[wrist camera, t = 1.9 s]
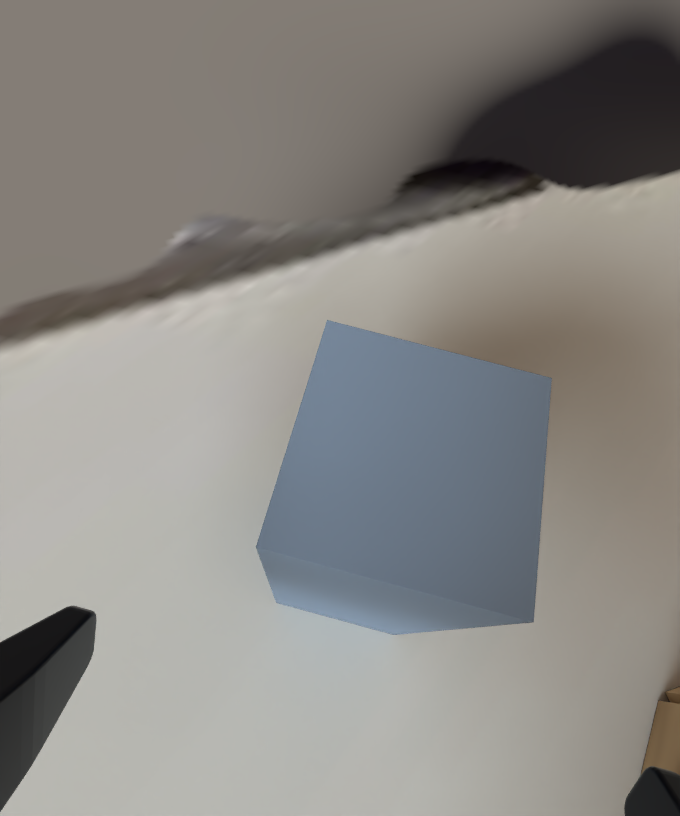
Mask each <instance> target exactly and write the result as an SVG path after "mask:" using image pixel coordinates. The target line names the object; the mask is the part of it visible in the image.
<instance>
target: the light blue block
mask: <svg viewBox="0 0 680 816" xmlns="http://www.w3.org/2000/svg"><path fill="white" fill-rule="evenodd" d="M551 380H552V378H550V377H546V376H542V375H538V374H534V373H530V372H526V371H522V370H519V369H515V368H511V367H507V366H503V365H499V364H495V363H491V362H488V361H484V360H480V359H476V358H472V357H468V356H464V355H460V354H457V353H453V352H449V351H445V350H441V349H437V348H433V347H429V346H426V345H422V344H418V343H414V342H410V341H406V340H402V339H398V338H395V337H391V336H387V335H383V334H379V333H375V332H371V331H367V330H364V329H360V328H356V327H352V326H348V325H344V324H340V323H336V322H333V321H329V320H327V323H326V326H325V329H324V332H323V335H322V338H321V342H320V345H319V348H318V351H317V354H316V358H315V361H314V364H313V367H312V370H311V373H310V377H309V380H308V383H307V386H306V389H305V393H304V396H303V399H302V402H301V405H300V408H299V412H298V415H297V418H296V421H295V424H294V428H293V431H292V434H291V437H290V440H289V443H288V447H287V450H286V453H285V456H284V459H283V463H282V466H281V469H280V472H279V475H278V478H277V482H276V485H275V488H274V491H273V494H272V498H271V501H270V504H269V507H268V510H267V513H266V517H265V520H264V523H263V526H262V529H261V533H260V536H259V539H258V542H257V545H256V548H257V551H258V554H259V557H260V559H261V562H262V565H263V568H264V570H265V573H266V576H267V579H268V581H269V584H270V587H271V589H272V592H273V595H274V598H275V600H276V603H279V604H283V605H287V606H290V607H294V608H298V609H301V610H305V611H309V612H312V613H316V614H320V615H323V616H327V617H331V618H334V619H338V620H342V621H345V622H349V623H353V624H356V625H360V626H363V627H367V628H371V629H374V630H378V631H382V632H385V633H389V634H393V635H397V634H408V633H419V632H431V631H442V630H453V629H464V628H475V627H486V626H497V625H508V624H519V623H530V622H534V609H535V596H536V582H537V569H538V555H539V542H540V528H541V515H542V501H543V488H544V474H545V461H546V447H547V434H548V420H549V407H550V393H551Z"/></svg>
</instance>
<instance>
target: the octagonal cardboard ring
mask: <svg viewBox="0 0 680 816" xmlns="http://www.w3.org/2000/svg"><path fill="white" fill-rule="evenodd" d="M666 695H667V697H668V699H669V701H670V702H664V701H658V705H657V709H656V713H655V717H654V722H653V726H652V730H651V734H650V739H649V743H648V747H647V751H646V756H645V760H644V764H643V768H642V772H641V774H642V773H643V771H644V770H645V769H646V768H648V767H650V766H655V767H658V768H662V769H666V770H669V771H673V772H675V773H677V774H679V775H680V687H678V688H675V689H672V690H670V691H667V692H666Z"/></svg>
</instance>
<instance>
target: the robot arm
mask: <svg viewBox="0 0 680 816" xmlns="http://www.w3.org/2000/svg"><path fill="white" fill-rule="evenodd" d="M95 630H96V614H95V612H93V611H91V610H88V609H84V608H81V607H77V606H69V607H66V608H64V609H62V610H60V611H58V612H56V613H54V614H53V615H51V616H49V617H47V618H45V619H43V620H41V621H39V622H38V623H36V624H34V625H32V626H30V627H28V628H26V629H24V630H22V631H21V632H19V633H17V634H15V635H13V636H11V637H9V638H7V639H6V640H4V641H2V642H0V812H1V810H2V809H3V807H4V806H5V804H6V803H7V801H8V800H9V798H10V797H11V796H12V794H13V793H14V791H15V790H16V788H17V787H18V785H19V784H20V782H21V781H22V779H23V778H24V776H25V775H26V773H27V772H28V770H29V769H30V767H31V766H32V764H33V762H34V761H35V759H36V757H37V755H38V754H39V752H40V750H41V749H42V747H43V745H44V743H45V741H46V740H47V738H48V736H49V734H50V733H51V731H52V729H53V727H54V725H55V724H56V722H57V720H58V718H59V716H60V715H61V713H62V711H63V709H64V708H65V706H66V704H67V702H68V700H69V699H70V697H71V695H72V693H73V691H74V690H75V688H76V686H77V684H78V683H79V681H80V679H81V677H82V675H83V674H84V672H85V670H86V668H87V666H88V664H89V662H90V660H91V657H92V655H93V651H94V641H95ZM624 809H625V816H680V775H679V774H677V773H675V772H673V771H669V770H666V769H662V768H658V767H655V766H650V767H648V768H646V769H645V770H644V771H643V773H642V774H641V776H640V777H639V779H638V781H637V782H636V784H635V785H634V787H633V788H632V790H631V791H630V793H629V794H628V796H627V798H626V801H625V808H624Z"/></svg>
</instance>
